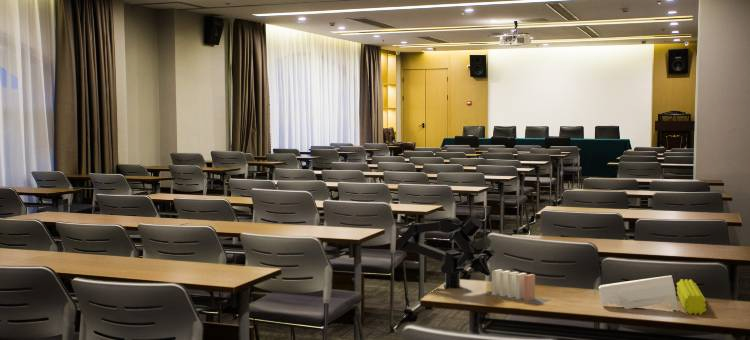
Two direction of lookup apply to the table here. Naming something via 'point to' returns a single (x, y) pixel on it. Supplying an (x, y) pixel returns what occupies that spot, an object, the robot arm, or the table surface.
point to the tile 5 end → (529, 287)
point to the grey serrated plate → (536, 300)
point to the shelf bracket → (640, 293)
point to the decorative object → (691, 297)
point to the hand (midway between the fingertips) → (489, 275)
